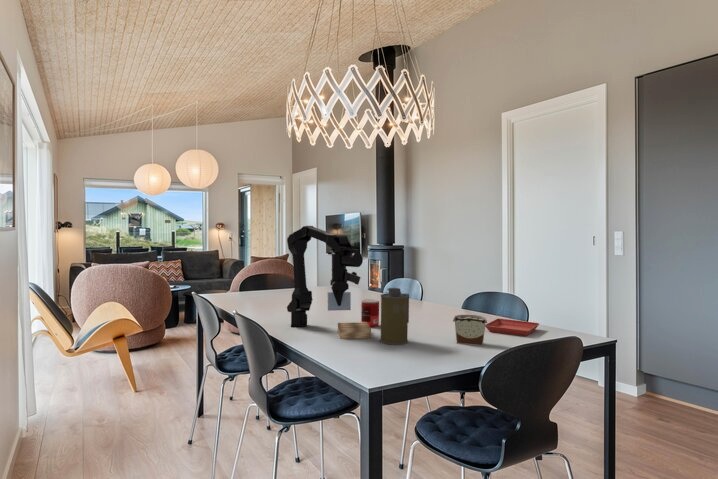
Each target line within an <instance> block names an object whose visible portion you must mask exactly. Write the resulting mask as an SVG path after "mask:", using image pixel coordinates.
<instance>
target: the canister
mask: <svg viewBox="0 0 718 479" xmlns="http://www.w3.org/2000/svg"><path fill="white" fill-rule="evenodd" d="M386 290H387V291H388V293H382V294H380V340H379V341H380V342H381V343H382V344H384V345H391V346H392V345H393V346H396V345H398V346H401V345H404V344H405V345H406V344H408V343H409V340H408V333H409V332H408V326H409V323H410V322H409V320H410V319H409V318H410V317H409V316H410V315H409V314H410V294H409V293H405V292H404V293H402V291H401V288H399V287H388V288H387V289H386Z"/></svg>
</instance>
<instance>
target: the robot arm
mask: <svg viewBox="0 0 718 479" xmlns="http://www.w3.org/2000/svg"><path fill="white" fill-rule="evenodd" d="M312 239H315V240H318V241H320V242H323V243H325V244H326V246H327V247H329V248H330V250H329V251H328V252H327V255H331V279H330V281H329V282H330V286H331V290H332V291H331V292H333V294H334V296H335V299H336V302H337V305H338V306H341V302H342V297H343V293H344V292H347V290H349V283H348V282H351V283H352V284H355V285H357V286H358V285H359V283H360V281H361V276H359V275H358V273H357V272H356V271H352V272H348V269H347V267H351V268H360V267H361V266H362V264H363V260H364V259H363V258H364V257H363V255H362V254H361V253H360V249H358V248H357V249H355V248H353V246H352V244H351V242H350V241H349V238H348V236H347V235H346V234H340V233H330V232H328V231H325V230H323V229H321V228H318V227H315V226H313V225H304V226H302V227H301V228H300V229H298V230H295V231H293V232H292V233H290V234H289V235H288V237H287V239H286V243H287V248H288V250H289V252H290V254H291V255H292V256H291V257H292V265H293V266H292V267H293V278H294V280H293V281H294V282H293V283H294V290H293V292H292V294H291V301H290V302H289V303H288V305H287V306H286V310H287V312H288V313H290V318H291V319H290V327H292V328H293V327H294V328H295V327H297V328H298V327H299V328H300V327H302V328H303V327H307V325H308V313H307V312H309V311H310V310H311V306H312V304H313V303H312V302H313V292H312V290H309V289H308V287H307V278H306V277H307V275H306V266H305V265H306V263H305V253H306V250H307V248H308V243H309V242H310V241H311V240H312Z"/></svg>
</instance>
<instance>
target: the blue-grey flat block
mask: <svg viewBox="0 0 718 479" xmlns="http://www.w3.org/2000/svg"><path fill="white" fill-rule="evenodd" d="M351 294H352V293H351V291H345V292H344V293H343V297H342V302H341V306H338V305H337V302H336V299H335V296H334V294H333V291H328V292H327V312H329V311H352V310H351V309H352V308H351V305H352V303H351V302H352V301H351V300H352V299H351V296H352V295H351Z"/></svg>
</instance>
